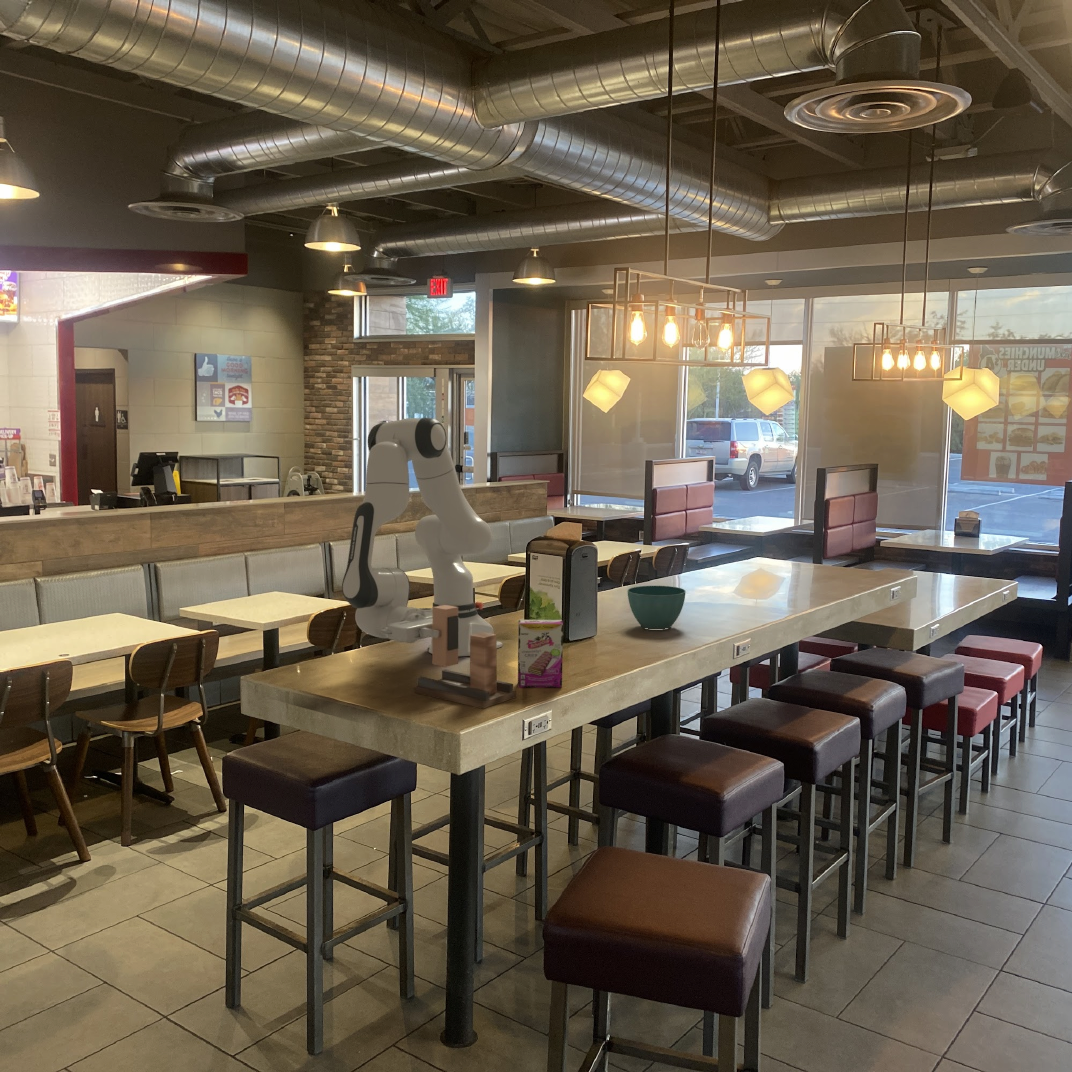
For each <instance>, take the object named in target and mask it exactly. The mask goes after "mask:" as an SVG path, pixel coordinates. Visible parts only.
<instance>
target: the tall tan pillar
mask: <svg viewBox="0 0 1072 1072" xmlns="http://www.w3.org/2000/svg"><path fill="white" fill-rule="evenodd" d="M432 629H439V630H441V631H442V633H441V634H442V636H441V637H438V638H434V637H432V654H431V655H432V659H431V660H432V665H435V666H440V667H445V668H447V667H451V666H455V665H458V664H459V656H458V607H455V606H449V605H442V606H437V607H433V606H432Z"/></svg>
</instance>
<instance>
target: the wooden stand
mask: <svg viewBox="0 0 1072 1072" xmlns="http://www.w3.org/2000/svg"><path fill="white" fill-rule="evenodd" d="M497 635H498V634H495V633H494V634H490V633H484V632H481V633H477V634H473V635H470V656H469V666H470V667H469V674H467V673H463V672H459V671H454V670H453V671H452V670H449V669H443V670H441V678H439V679H435V678H430V677H424V676H418V677H417V685H415V686H414V693H415V694H419V695H423V696H428V697H431V698H437V699H441V700H446V701H449V702H452V703H453V702H454V703H457V704H463V705H467V706H471V707H474V708H479V709H486V708H488V707H492V706H496V705H497V704H500V703H503V702H506V701H509V700H513V699H514V698H517V690H514V684H513V683H509V682H505V681H501V680H498V679H497V677H498V676H497V675H498V670H497V669H498V668H497V667H498V665H497V664H498V662H497V661H498V660H497V656H498V654H497V652H498V651H497V649H498V648H497V641H498V640H497V639H498V638H497V637H498V636H497Z"/></svg>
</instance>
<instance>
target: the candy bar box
mask: <svg viewBox="0 0 1072 1072" xmlns="http://www.w3.org/2000/svg"><path fill="white" fill-rule="evenodd" d="M563 622H564V621H563V620H562V619H518V623H517V625H518V628H517V630H518V633H517V635H518V637H517V640H518V641H517V687H518V688H537V689H539V688H540V689H542V688H563V661H564V660H563V653H564V652H563V651H564V650H563V649H564V648H563V647H564V646H563V645H564V643H563V642H564V624H563Z"/></svg>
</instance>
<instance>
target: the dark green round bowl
mask: <svg viewBox="0 0 1072 1072" xmlns="http://www.w3.org/2000/svg"><path fill="white" fill-rule="evenodd" d="M627 598H628V605H629V607H630V609H631V612H632V615H633V616H634V618H635V619H636V621H637V622H638V624H639V625H640V627H642V629H644V628H648V629H665V628H669V629H671V628H672V627H673V625H674V623H675V622H677V619H678V618H679V616H680V615H681V613H682V609H683V607H684V604H685V600H686V590H685V589H683V588H682V587H677V586H672V585H671V586H670V585H640V586H633V587H630V588H628V589H627Z"/></svg>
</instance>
